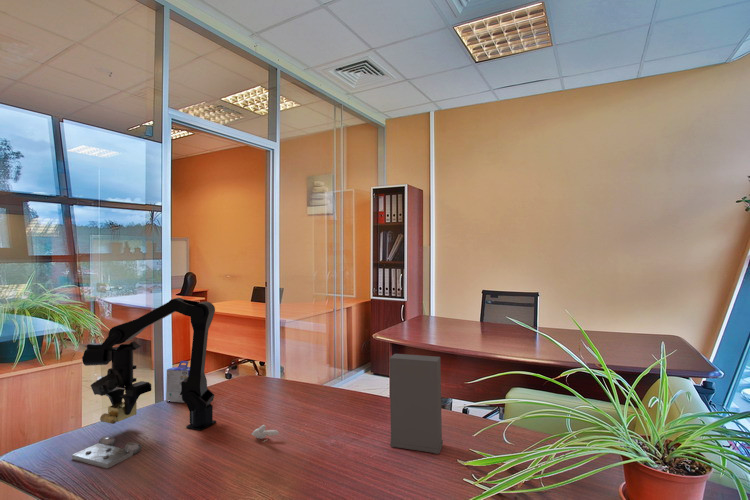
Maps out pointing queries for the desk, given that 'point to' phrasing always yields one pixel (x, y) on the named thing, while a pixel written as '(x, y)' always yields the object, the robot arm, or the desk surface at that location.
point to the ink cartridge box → (176, 382)
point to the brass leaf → (117, 413)
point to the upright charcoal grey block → (416, 402)
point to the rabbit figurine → (263, 432)
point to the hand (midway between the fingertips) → (122, 413)
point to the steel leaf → (106, 453)
